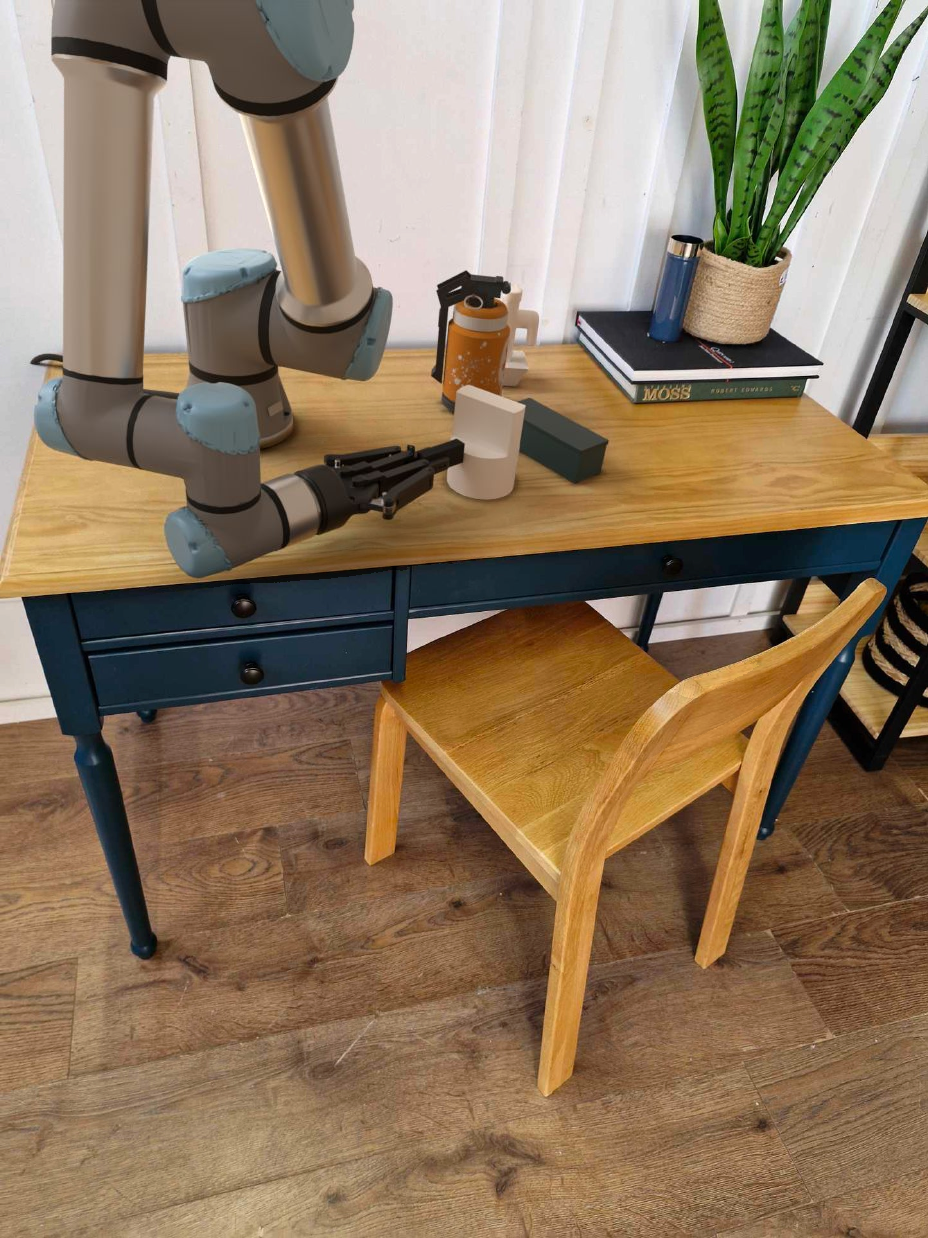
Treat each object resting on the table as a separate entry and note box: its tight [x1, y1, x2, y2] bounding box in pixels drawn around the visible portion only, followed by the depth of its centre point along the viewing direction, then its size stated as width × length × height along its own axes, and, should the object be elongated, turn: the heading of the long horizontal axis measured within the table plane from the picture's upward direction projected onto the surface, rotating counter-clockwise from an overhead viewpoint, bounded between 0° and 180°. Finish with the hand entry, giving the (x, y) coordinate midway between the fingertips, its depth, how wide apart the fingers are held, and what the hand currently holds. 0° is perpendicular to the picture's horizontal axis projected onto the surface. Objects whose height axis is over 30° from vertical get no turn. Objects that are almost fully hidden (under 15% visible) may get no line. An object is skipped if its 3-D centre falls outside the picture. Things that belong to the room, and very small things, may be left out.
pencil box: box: [517, 397, 610, 484], centre depth 129 cm, size 15×6×5 cm, turn 43°
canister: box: [430, 269, 512, 413], centre depth 134 cm, size 9×11×20 cm
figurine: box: [502, 283, 540, 387], centre depth 145 cm, size 7×9×15 cm
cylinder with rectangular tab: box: [446, 385, 526, 501], centre depth 120 cm, size 9×9×12 cm
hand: (459, 450), depth 117 cm, fingers closed
